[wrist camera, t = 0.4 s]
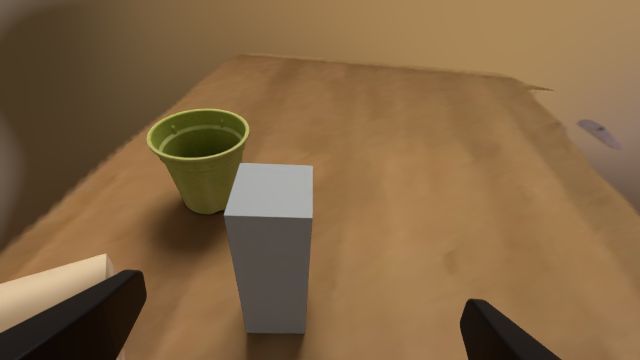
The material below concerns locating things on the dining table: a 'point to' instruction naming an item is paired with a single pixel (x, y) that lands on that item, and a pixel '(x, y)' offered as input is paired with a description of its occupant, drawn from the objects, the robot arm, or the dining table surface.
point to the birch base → (50, 289)
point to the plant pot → (201, 154)
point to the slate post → (271, 244)
